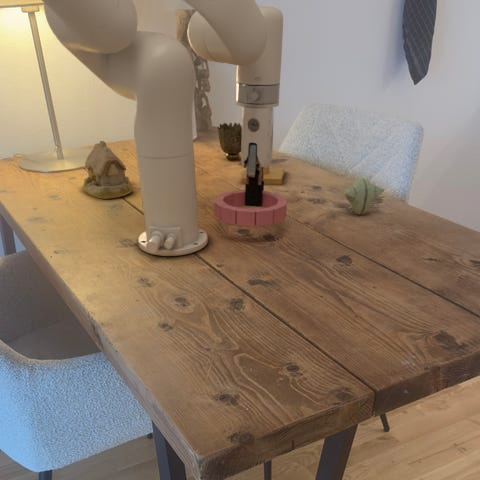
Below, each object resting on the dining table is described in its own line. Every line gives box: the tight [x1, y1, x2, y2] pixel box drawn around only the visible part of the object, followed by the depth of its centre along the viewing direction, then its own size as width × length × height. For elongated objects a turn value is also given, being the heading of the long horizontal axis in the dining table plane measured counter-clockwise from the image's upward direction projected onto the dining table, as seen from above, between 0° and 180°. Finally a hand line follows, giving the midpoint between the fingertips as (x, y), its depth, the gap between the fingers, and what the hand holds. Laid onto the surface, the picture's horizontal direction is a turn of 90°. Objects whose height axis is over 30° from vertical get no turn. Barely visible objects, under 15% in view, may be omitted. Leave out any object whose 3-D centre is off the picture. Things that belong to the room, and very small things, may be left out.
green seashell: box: [344, 177, 385, 216], centre depth 111 cm, size 8×4×7 cm, turn 103°
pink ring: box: [213, 189, 288, 227], centre depth 104 cm, size 13×13×3 cm
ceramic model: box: [82, 140, 134, 200], centre depth 125 cm, size 14×11×10 cm
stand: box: [242, 166, 286, 185], centre depth 129 cm, size 9×9×13 cm
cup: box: [216, 122, 242, 162], centre depth 145 cm, size 8×7×8 cm
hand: (254, 203), depth 109 cm, fingers closed on pink ring
